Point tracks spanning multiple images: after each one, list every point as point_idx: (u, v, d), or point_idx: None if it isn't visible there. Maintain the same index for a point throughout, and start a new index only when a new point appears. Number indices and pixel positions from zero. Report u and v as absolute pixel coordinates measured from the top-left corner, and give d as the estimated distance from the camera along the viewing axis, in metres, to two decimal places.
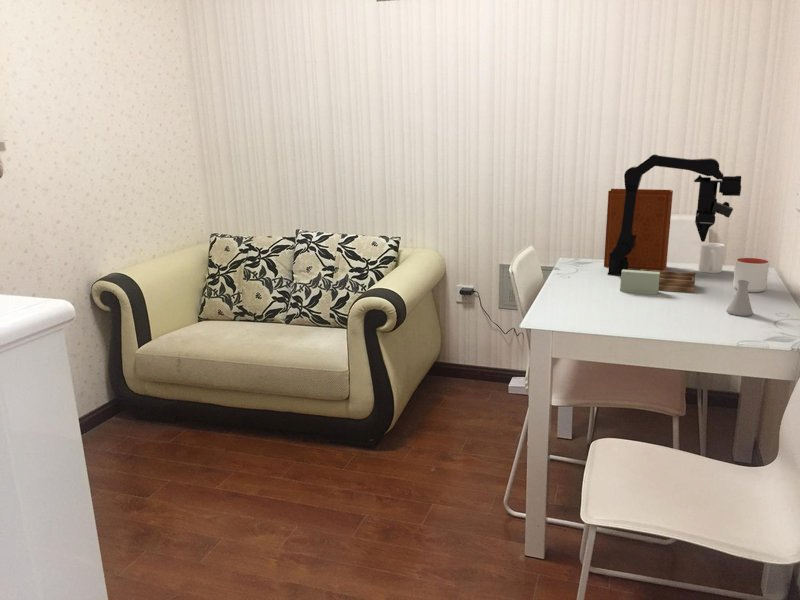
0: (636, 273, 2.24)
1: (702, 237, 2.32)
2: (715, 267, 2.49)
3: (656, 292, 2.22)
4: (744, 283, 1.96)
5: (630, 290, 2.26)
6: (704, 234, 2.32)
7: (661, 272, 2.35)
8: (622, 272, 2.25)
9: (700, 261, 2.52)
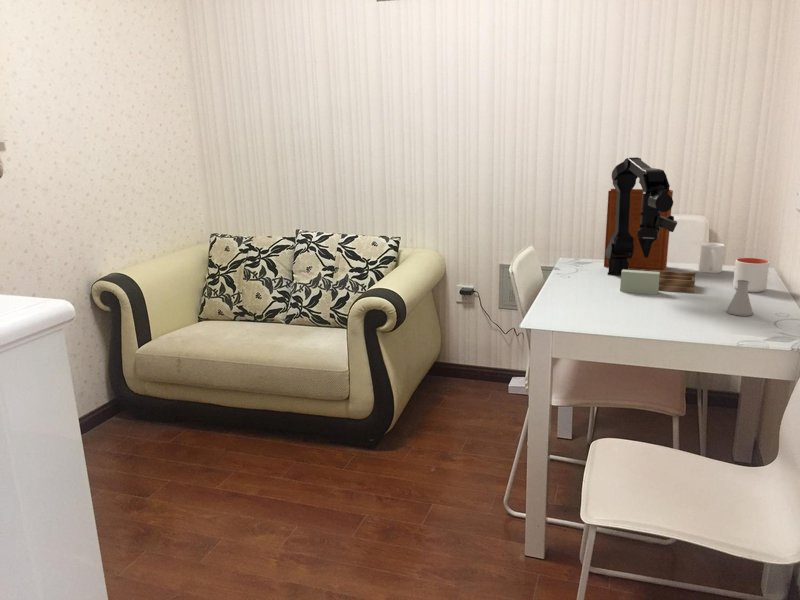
0: (636, 273, 2.24)
1: (645, 253, 2.19)
2: (715, 267, 2.49)
3: (656, 292, 2.22)
4: (744, 283, 1.96)
5: (630, 290, 2.26)
6: (647, 250, 2.18)
7: (661, 272, 2.35)
8: (622, 272, 2.25)
9: (700, 261, 2.52)
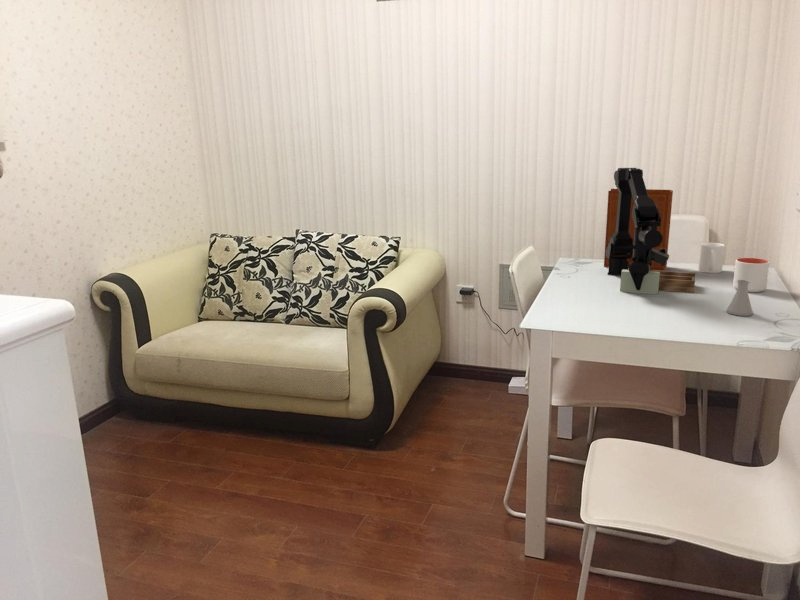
0: None
1: (637, 286, 2.22)
2: (715, 267, 2.49)
3: (656, 292, 2.22)
4: (744, 283, 1.96)
5: (630, 290, 2.26)
6: (639, 283, 2.21)
7: (661, 272, 2.35)
8: (622, 272, 2.25)
9: (700, 261, 2.52)
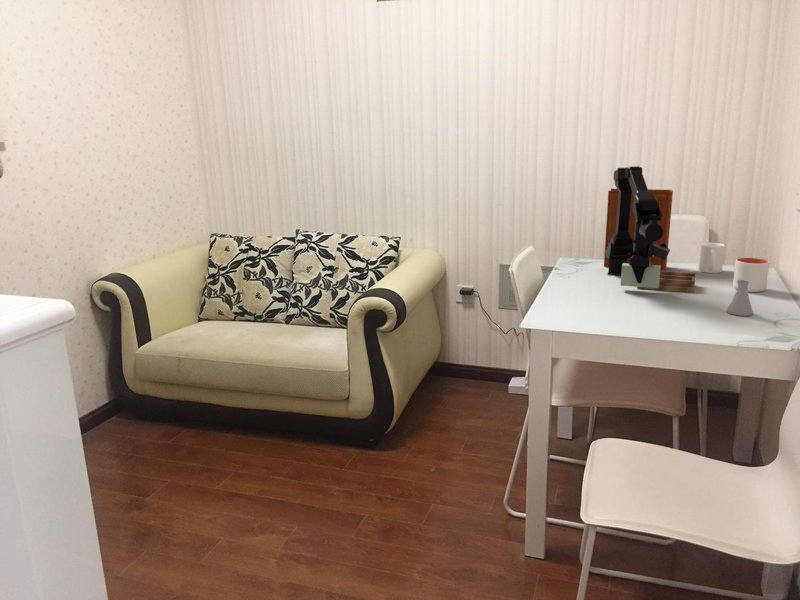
0: None
1: (638, 279, 2.23)
2: (715, 267, 2.49)
3: (657, 286, 2.22)
4: (744, 283, 1.96)
5: (631, 284, 2.25)
6: (640, 276, 2.22)
7: (661, 272, 2.35)
8: (623, 266, 2.25)
9: (700, 261, 2.52)
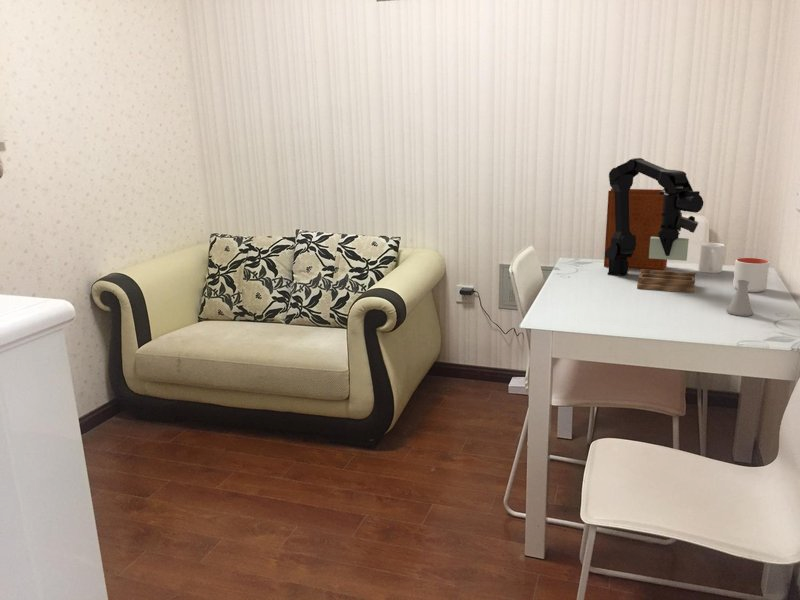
0: None
1: (666, 251, 2.26)
2: (715, 267, 2.49)
3: (685, 258, 2.25)
4: (744, 283, 1.96)
5: (659, 257, 2.28)
6: (668, 248, 2.25)
7: (661, 272, 2.35)
8: (651, 239, 2.28)
9: (700, 261, 2.52)
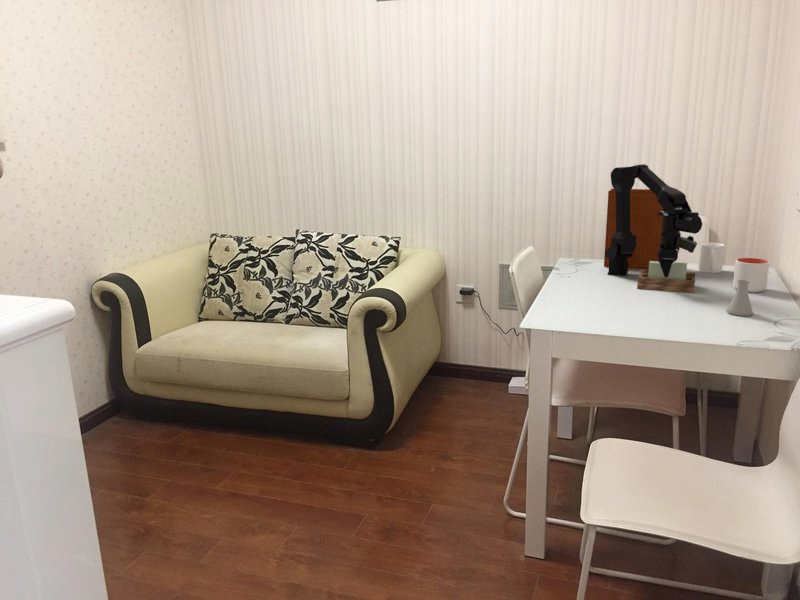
0: None
1: (665, 273, 2.25)
2: (715, 267, 2.49)
3: None
4: (744, 283, 1.96)
5: None
6: (667, 270, 2.25)
7: None
8: (650, 263, 2.30)
9: (700, 261, 2.52)
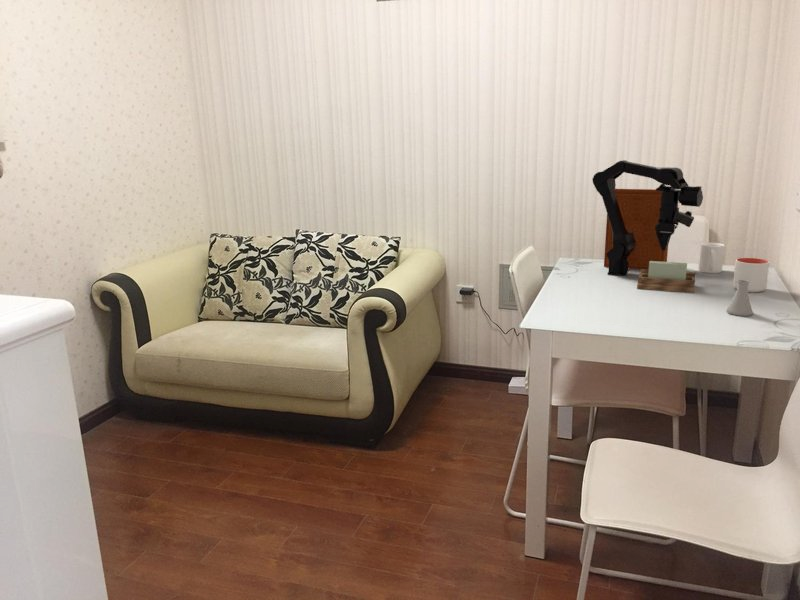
0: (664, 264, 2.28)
1: (662, 246, 2.33)
2: (715, 267, 2.49)
3: None
4: (744, 283, 1.96)
5: None
6: (664, 243, 2.33)
7: None
8: (650, 263, 2.30)
9: (700, 261, 2.52)
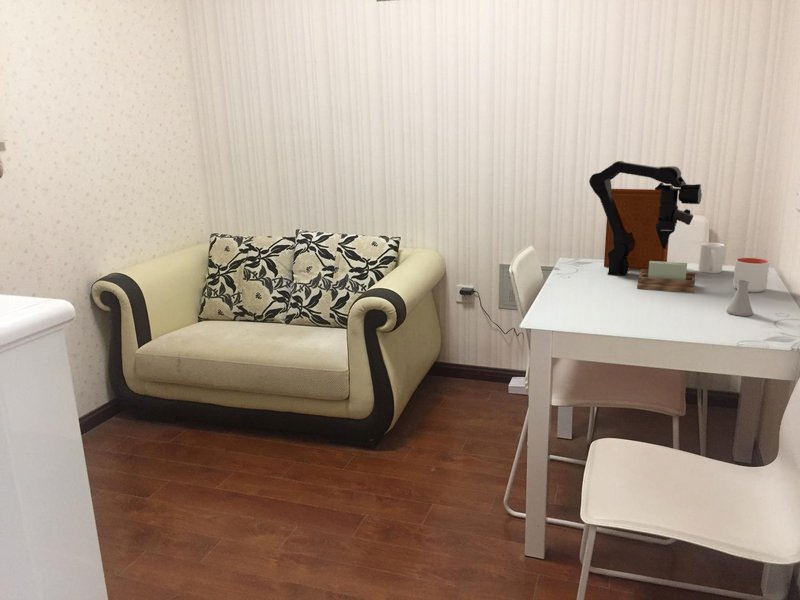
0: (664, 264, 2.28)
1: (663, 244, 2.35)
2: (715, 267, 2.49)
3: None
4: (744, 283, 1.96)
5: None
6: (665, 241, 2.35)
7: None
8: (650, 263, 2.30)
9: (700, 261, 2.52)
